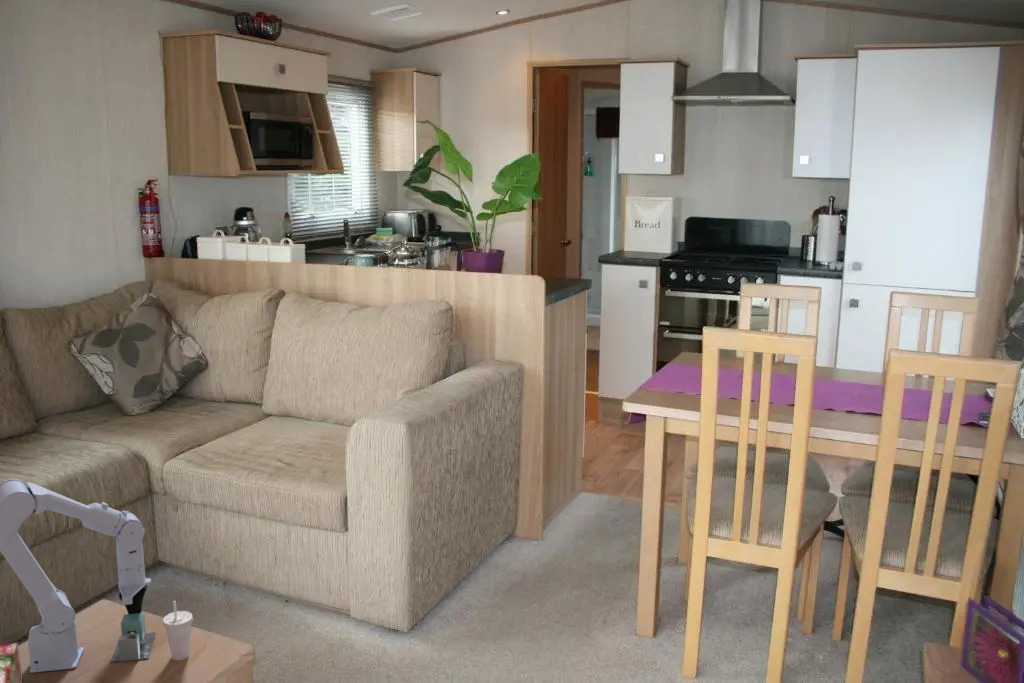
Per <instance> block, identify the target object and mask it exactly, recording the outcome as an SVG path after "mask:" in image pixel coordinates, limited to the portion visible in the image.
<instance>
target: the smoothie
mask: <svg viewBox="0 0 1024 683" xmlns="http://www.w3.org/2000/svg"><path fill="white" fill-rule="evenodd" d="M172 603H173V604H172V605H173V611H172V612H170V613H167V615H165V616H164V617H163V619H162V626H163V627H164V628H165V633H166V637H167V642H168V645H169V646H168V647H169V650H170V654H171V659H172V660H174V661H182V660H185V659H188V657H190V650H191V649H190V646H191V634H192V622H193V620H194V618H193V614H192V613H191V612H190V611H187V610H177V601H176V600H173V601H172Z"/></svg>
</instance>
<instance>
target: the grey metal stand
mask: <svg viewBox="0 0 1024 683" xmlns="http://www.w3.org/2000/svg"><path fill="white" fill-rule="evenodd" d="M135 632H136V630H134V631H130V633H129V634H128V635H122V634H121V635H119V637H118V640H117V643H116V646H115V649H114V651H113V655H112V657H111V659H110V663H111V662H115V663H125V662H133V660H135V661H142V660H141V659H144V660H149V658H150V655H151V651H152V649H151V648H153V644H154V641H155V638H156V636H157V632H156V631H155V632H147V633H145V636H144V639H143V641H139V634H135ZM155 635H156V636H155ZM124 661H125V662H124Z"/></svg>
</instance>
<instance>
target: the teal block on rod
mask: <svg viewBox="0 0 1024 683" xmlns="http://www.w3.org/2000/svg"><path fill="white" fill-rule="evenodd" d="M134 630H136V632H135V634H139V641H143V639H144V636H145V633H146V632H147V631H146V630H147V629H146V618H145V612H141V613H136V614H127V613H126V614H123V616H122V619H121V622H120V631H121V635H128V634H129V633H130V631H134Z"/></svg>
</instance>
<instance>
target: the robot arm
mask: <svg viewBox="0 0 1024 683" xmlns="http://www.w3.org/2000/svg"><path fill="white" fill-rule="evenodd" d="M26 483H27V484H26ZM26 483H25V481H24V480H22V479H17V478H9V479H6V480H3V481H2V482H0V553H1V555H2V556H3V557H4V559H5V560H6V562H7V564H9V566H10V567H11V569H12V570H13V572H14V574H15V575H16V576H17V577H18V579H19V581H20V582H21V584H22V585H23V586H24V588H25V590H27V592H28V593H29V595H30V597H31V598H32V599H33V601H34V603H35V605H36V609H37V611H38V613H39V615H40V617H41V620H40V622H39V623H40V624H38V625H35V626H32V627H31V628H30V630H29V632H28V633H29V634H28V636H27V637H28V639H27V648H28V656H29V665H30V669H29V673H31V674H32V673H41V672H42V673H43V672H51V671H60V670H62V671H63V670H70V669H76V668H77V666H78V664H79V662H80V660H81V658H82V655H83V653H84V651H85V647H83V646H80V647H79V646H78V644H79V642H78V635H77V626H76V612H75V610H74V608H73V607H72V606H71V604H70V601H69V599H68V595H67V594H66V592H64V591H62V590H60V589H58V587H56V586H55V585H54V584H53V583H52V581H51V580H50V579H49V577H48V576H47V574H46V573H45V571H44V570H43V568H42V567H41V565H40V563H39V562H38V561H37V559H36V558H35V557H34V555H33V553H32V552H31V551H30V549H29V547H28V546H27V544H26V543H25V542H24V540H23V538H22V537H21V536H20V535H19V533H18V532H19V529H20V528H21V525H22V524H23V523H24V522H26V520H27V519H28V517H30V515H32V513H33V514H34V515H36V516H37V515H39V514H41V513H43V512H46V511H51V512H54V513H58V514H60V515H65V516H67V517H70V518H74V519H78V520H80V521H81V525H82V526H83V527H84V528H86V529H90V530H92V531H94V532H98V533H101V534H103V535H107V536H109V537H115V544H116V545H115V552H116V562H117V574H118V575H117V576H118V589H119V594H118V598H119V600H120V601H121V602H122V603H121V604H122V606H124V607H125V608H126V612H127V613H128V614H136V613H142V610H143V602H144V596H145V595H146V592H147V588H148V586H150V585H151V583H152V578H148V577H146V569H145V555H144V553H145V552H144V544H143V538H144V536H145V533H146V529H145V528H144V525H143V523H142V522H141V521H140V519H139V518H138V517H137V516H136V515H135V514H133V513H132V512H130V510H126V511H125V510H123V509H122V510H121V511H120V510H117V509H114V508H112V507H110V506H109V504H108V503H106V502H104V501H102V502H100V503H98V502H92V503H89V504H84V503H82V502H80V501H76V500H75V499H72V498H69V497H67V496H65V495H63V494H59V493H58V492H55V491H53V490H50V489H48V488H45V487H44V486H40V485H38V484H36V483H32V482H29V481H28V482H26Z"/></svg>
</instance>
